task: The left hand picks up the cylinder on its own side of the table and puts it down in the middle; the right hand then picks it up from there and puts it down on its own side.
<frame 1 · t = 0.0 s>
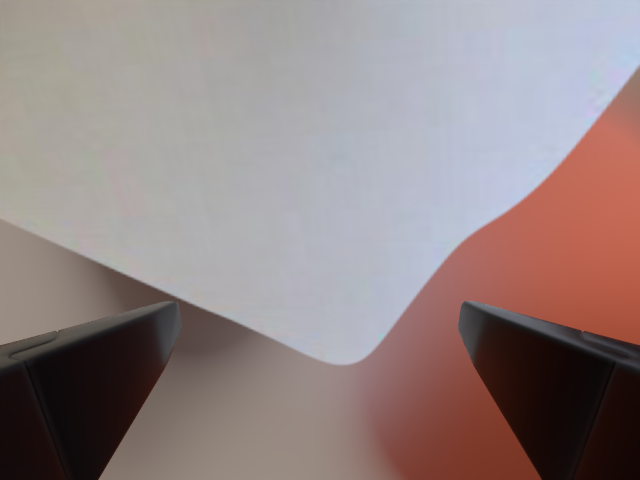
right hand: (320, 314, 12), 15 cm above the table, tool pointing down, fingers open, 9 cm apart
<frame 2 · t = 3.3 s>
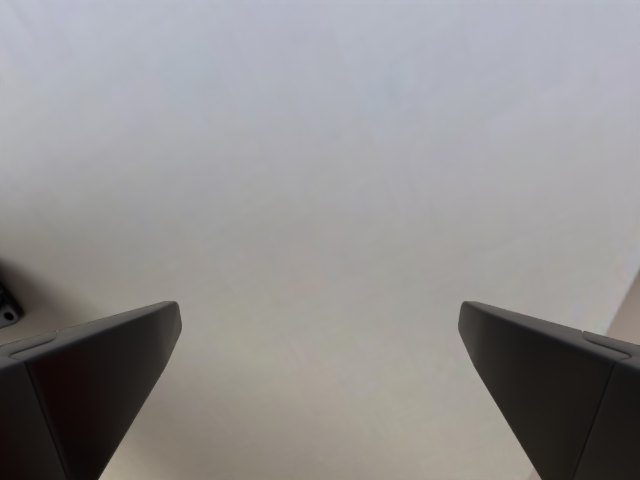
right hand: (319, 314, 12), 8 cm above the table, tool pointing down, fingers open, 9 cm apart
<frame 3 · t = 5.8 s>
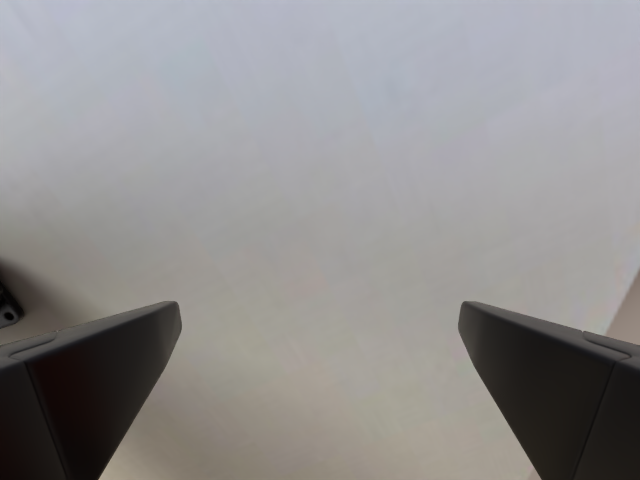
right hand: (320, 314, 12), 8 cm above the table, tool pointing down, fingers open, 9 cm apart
when the left hand's fingers open (2 cm above the table, at t = 8.3 s): cylinder stays where it is, on the table.
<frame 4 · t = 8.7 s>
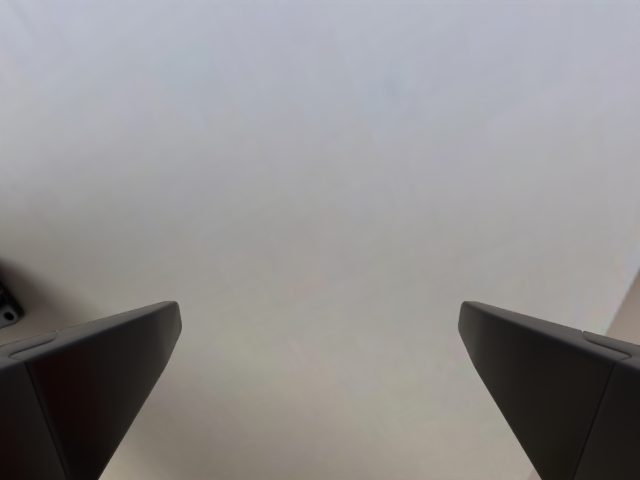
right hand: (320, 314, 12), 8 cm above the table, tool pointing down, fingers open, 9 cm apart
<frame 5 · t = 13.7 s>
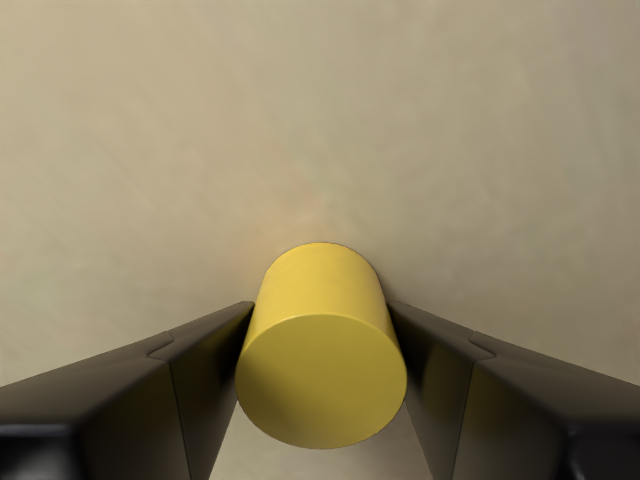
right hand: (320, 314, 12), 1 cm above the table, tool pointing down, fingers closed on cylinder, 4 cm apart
cylinder: (320, 297, 13), on the table, touching right hand
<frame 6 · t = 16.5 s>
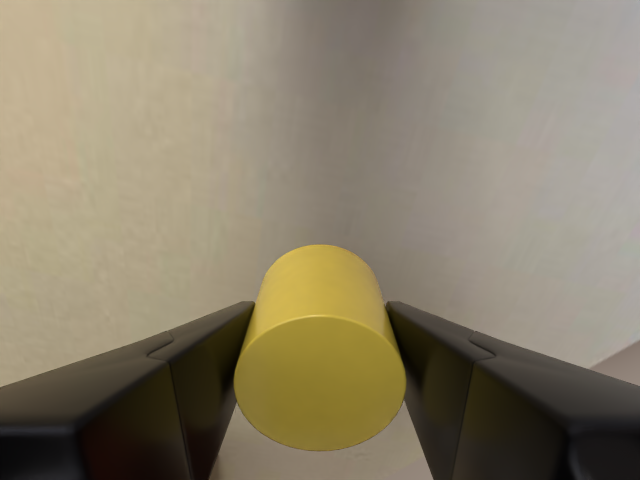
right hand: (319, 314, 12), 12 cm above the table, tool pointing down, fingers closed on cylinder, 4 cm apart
cylinder: (319, 299, 13), point 11 cm above the table, touching right hand
when the right hand's fingers open (2 cm above the table, at t = 19.1 s): cylinder stays where it is, on the table.
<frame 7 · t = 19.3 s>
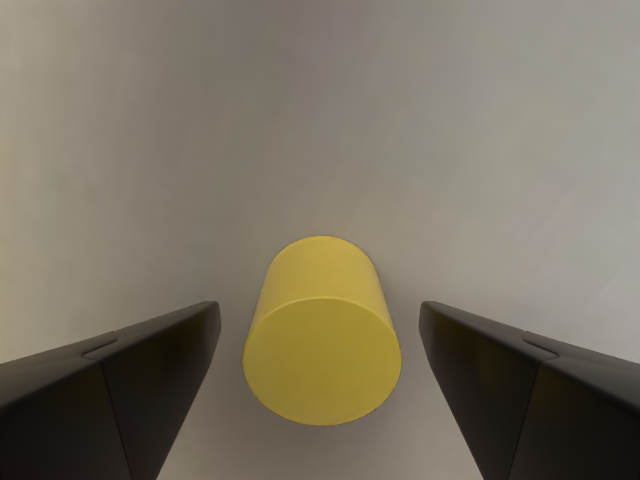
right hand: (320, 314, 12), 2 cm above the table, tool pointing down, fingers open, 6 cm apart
cylinder: (321, 288, 13), on the table
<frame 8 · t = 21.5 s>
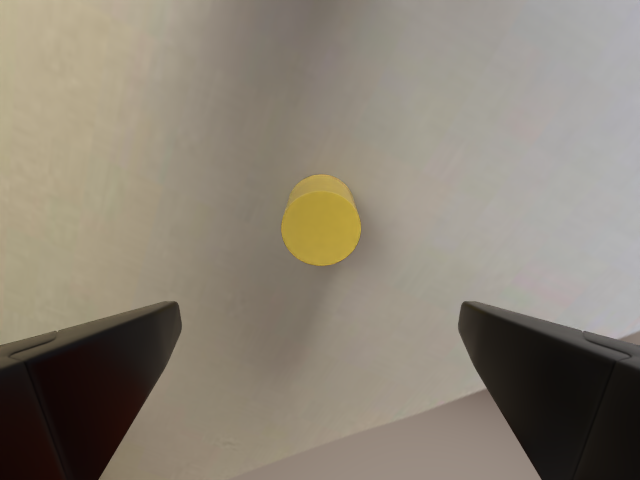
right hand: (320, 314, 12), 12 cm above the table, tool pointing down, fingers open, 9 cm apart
cylinder: (320, 207, 23), on the table
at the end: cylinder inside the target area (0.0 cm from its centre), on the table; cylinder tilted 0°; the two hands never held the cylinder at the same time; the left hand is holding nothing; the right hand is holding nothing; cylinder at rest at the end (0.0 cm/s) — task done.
